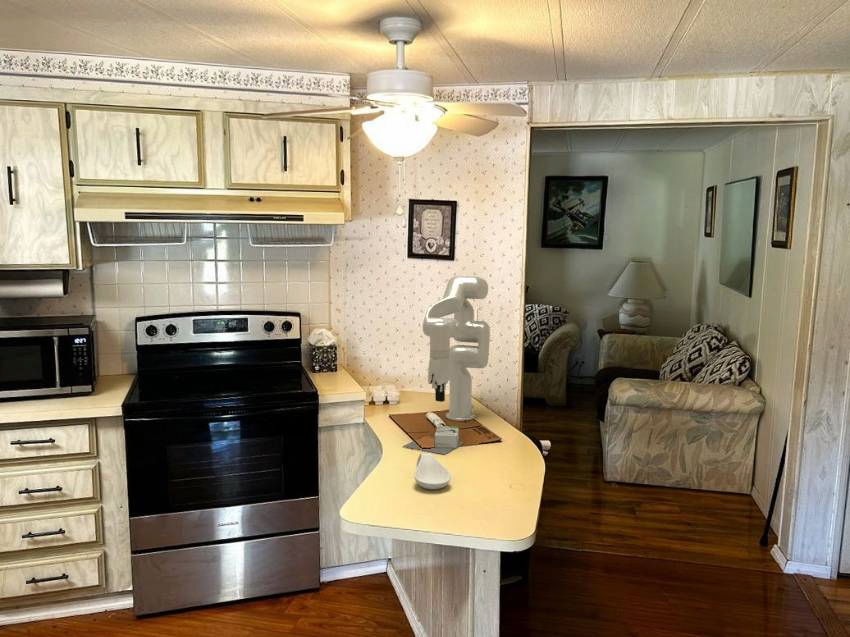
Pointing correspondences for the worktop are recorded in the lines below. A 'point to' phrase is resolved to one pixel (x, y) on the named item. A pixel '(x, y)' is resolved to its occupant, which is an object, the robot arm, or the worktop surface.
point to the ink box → (446, 436)
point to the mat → (434, 450)
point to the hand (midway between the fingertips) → (440, 400)
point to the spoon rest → (431, 472)
